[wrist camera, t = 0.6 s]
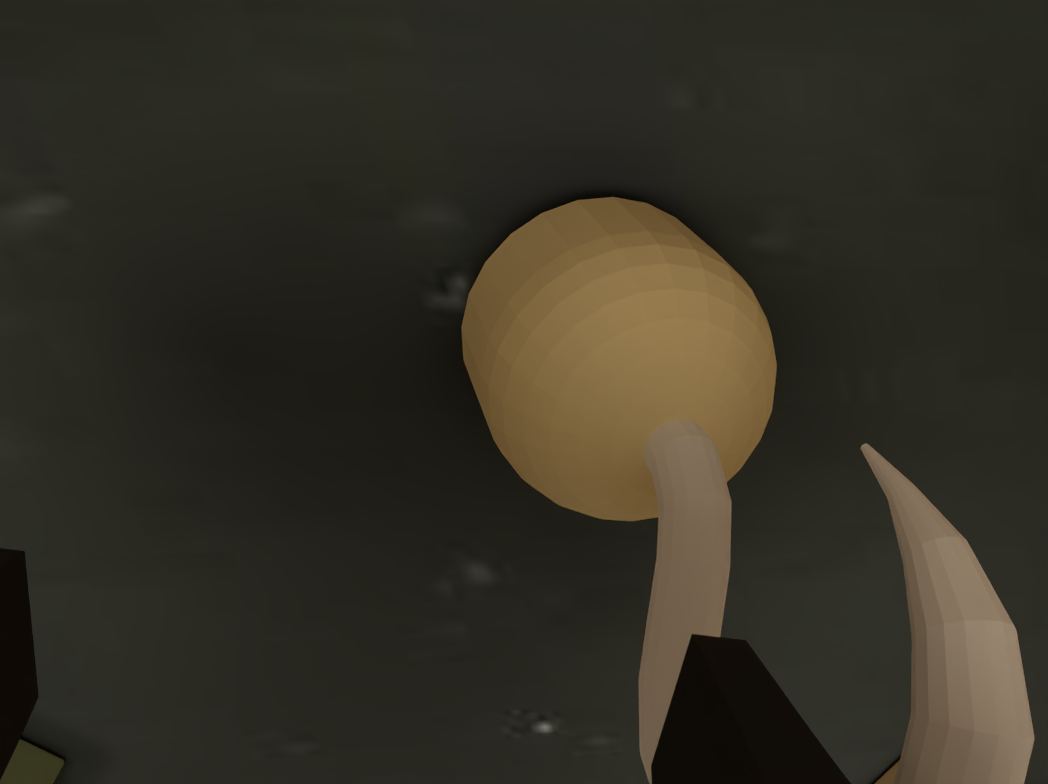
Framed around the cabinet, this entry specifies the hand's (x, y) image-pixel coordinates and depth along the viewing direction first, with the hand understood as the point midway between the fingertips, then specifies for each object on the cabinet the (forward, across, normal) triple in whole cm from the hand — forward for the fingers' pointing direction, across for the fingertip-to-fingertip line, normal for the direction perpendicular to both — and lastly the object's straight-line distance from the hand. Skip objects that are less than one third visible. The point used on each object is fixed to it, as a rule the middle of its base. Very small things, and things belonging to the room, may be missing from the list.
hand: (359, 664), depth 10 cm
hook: (+10, -3, 0) cm, 10 cm away
